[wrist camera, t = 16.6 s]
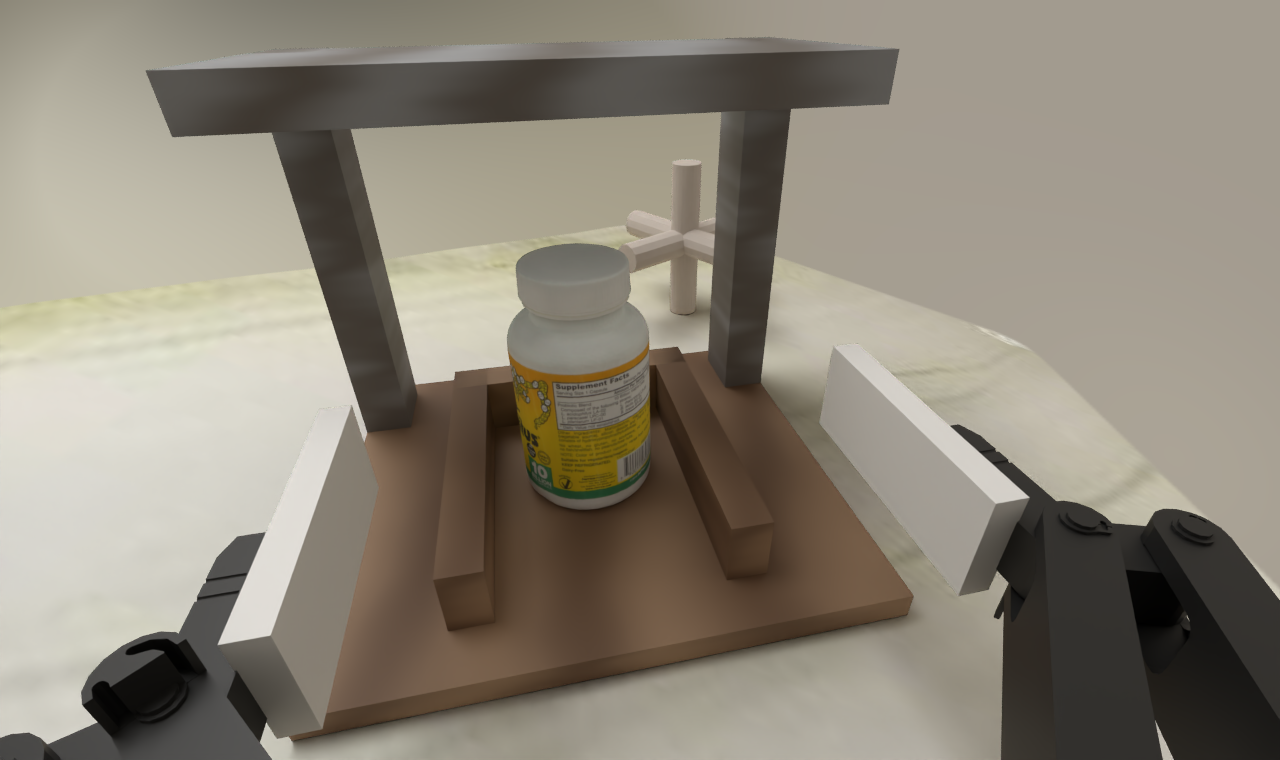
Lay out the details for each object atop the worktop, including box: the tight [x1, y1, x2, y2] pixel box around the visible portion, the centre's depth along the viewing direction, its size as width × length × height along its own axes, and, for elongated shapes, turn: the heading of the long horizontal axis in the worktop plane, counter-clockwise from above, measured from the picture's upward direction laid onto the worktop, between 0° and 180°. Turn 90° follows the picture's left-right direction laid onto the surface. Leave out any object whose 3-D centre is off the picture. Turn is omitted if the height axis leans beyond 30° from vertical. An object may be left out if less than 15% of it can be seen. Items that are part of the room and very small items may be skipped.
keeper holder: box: [146, 37, 914, 741], centre depth 22 cm, size 20×18×17 cm
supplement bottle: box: [507, 243, 651, 510], centre depth 23 cm, size 5×5×10 cm
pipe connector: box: [619, 159, 716, 315], centre depth 40 cm, size 10×10×10 cm
